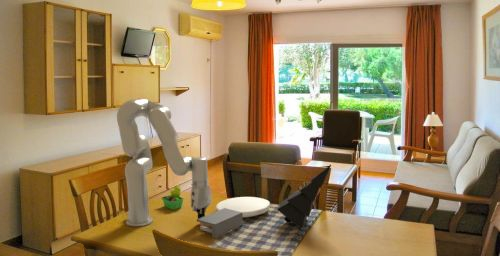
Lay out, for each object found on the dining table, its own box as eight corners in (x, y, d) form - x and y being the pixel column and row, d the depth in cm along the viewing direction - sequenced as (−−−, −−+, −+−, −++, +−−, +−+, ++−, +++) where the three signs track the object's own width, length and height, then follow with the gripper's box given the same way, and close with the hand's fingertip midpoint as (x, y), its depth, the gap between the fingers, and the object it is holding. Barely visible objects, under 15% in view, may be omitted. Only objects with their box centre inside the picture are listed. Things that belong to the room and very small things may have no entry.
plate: (210, 211, 208) (219, 195, 234) (212, 224, 209) (221, 207, 235) (267, 206, 205) (270, 191, 231) (269, 219, 206) (271, 202, 232)
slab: (200, 226, 201) (199, 219, 201) (208, 223, 206) (208, 216, 205) (219, 232, 194) (218, 225, 194) (227, 228, 199) (227, 221, 198)
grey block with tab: (194, 232, 194) (193, 218, 193) (221, 220, 209) (221, 207, 208) (215, 238, 186) (215, 224, 185) (242, 225, 201) (242, 212, 200)
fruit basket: (161, 206, 232) (160, 186, 230) (174, 202, 238) (174, 183, 236) (172, 211, 223) (171, 190, 222) (186, 207, 229) (185, 187, 228)
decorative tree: (297, 236, 196) (343, 178, 186) (271, 216, 198) (315, 158, 188) (302, 224, 210) (345, 170, 200) (278, 206, 212) (319, 151, 202)
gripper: (194, 188, 193) (196, 226, 196) (216, 181, 205) (217, 217, 208) (183, 185, 198) (184, 223, 200) (205, 178, 210) (206, 214, 212)
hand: (201, 220), depth 204 cm, fingers closed
